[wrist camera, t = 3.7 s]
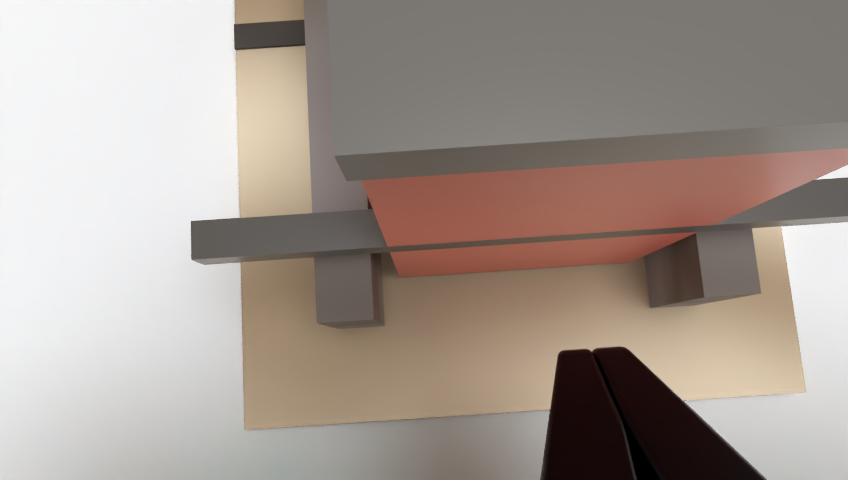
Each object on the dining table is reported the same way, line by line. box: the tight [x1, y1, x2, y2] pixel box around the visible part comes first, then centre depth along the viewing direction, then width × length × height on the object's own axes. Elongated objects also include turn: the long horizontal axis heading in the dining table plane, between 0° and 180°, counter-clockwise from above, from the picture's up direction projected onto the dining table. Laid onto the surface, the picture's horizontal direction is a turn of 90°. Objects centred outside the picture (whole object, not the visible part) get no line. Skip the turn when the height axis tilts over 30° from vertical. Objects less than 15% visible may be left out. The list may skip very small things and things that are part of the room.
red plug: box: [191, 0, 848, 278], centre depth 10 cm, size 4×11×10 cm, turn 94°
